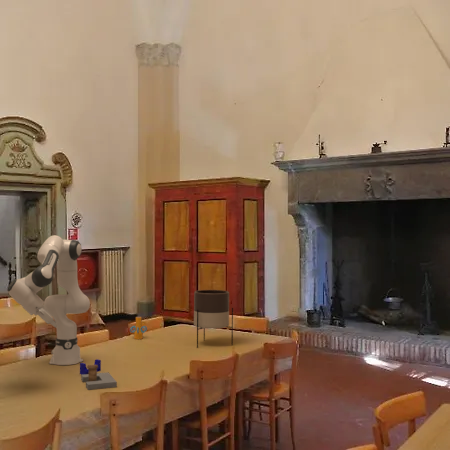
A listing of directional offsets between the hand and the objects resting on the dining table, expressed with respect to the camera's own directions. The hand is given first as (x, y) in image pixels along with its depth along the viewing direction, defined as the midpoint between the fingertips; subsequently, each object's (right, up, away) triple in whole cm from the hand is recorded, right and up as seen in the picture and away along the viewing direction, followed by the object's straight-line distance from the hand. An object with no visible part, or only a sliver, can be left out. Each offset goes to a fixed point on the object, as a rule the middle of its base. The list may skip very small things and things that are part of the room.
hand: (55, 325), depth 294 cm
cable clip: (+13, -30, +23) cm, 40 cm away
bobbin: (+18, -30, +1) cm, 35 cm away
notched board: (+21, -30, +2) cm, 36 cm away
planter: (+75, -30, +99) cm, 128 cm away
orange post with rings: (+24, -29, +117) cm, 123 cm away
